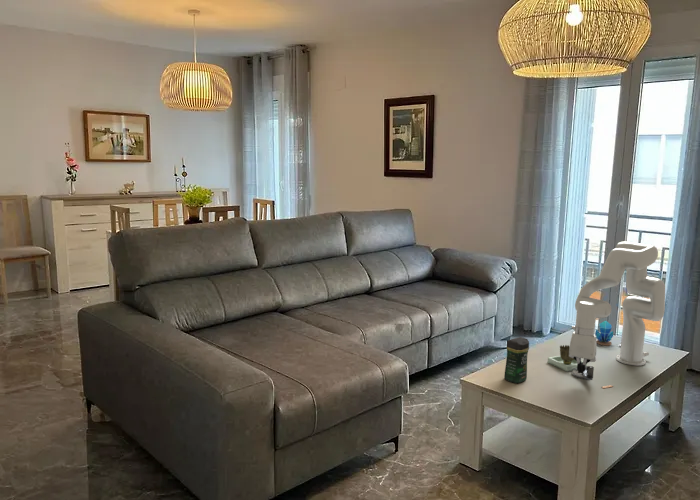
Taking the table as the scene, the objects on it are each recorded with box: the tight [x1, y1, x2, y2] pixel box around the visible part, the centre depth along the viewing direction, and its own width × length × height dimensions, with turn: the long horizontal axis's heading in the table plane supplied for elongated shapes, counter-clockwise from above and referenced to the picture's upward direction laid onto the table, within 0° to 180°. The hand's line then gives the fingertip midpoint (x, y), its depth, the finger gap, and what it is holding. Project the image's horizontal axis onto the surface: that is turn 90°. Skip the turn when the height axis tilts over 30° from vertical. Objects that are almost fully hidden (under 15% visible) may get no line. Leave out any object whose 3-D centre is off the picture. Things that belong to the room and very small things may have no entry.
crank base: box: [571, 368, 586, 380], centre depth 240 cm, size 8×8×2 cm
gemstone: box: [594, 320, 614, 347], centre depth 283 cm, size 7×9×12 cm
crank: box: [582, 365, 595, 381], centre depth 234 cm, size 14×4×6 cm, turn 171°
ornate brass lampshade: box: [559, 344, 574, 365], centre depth 252 cm, size 8×7×8 cm
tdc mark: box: [601, 384, 613, 389], centre depth 228 cm, size 5×1×1 cm, turn 113°
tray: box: [547, 355, 588, 372], centre depth 252 cm, size 12×12×2 cm
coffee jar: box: [503, 336, 530, 384], centre depth 233 cm, size 10×8×19 cm
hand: (580, 372), depth 230 cm, fingers closed
